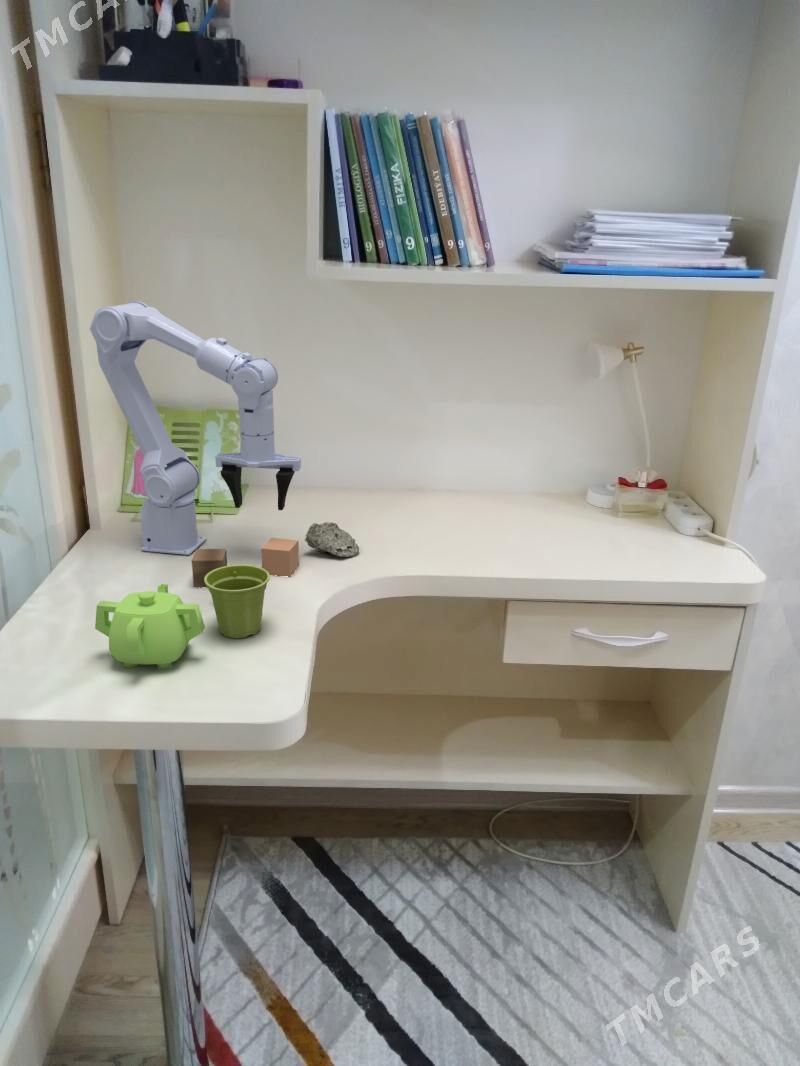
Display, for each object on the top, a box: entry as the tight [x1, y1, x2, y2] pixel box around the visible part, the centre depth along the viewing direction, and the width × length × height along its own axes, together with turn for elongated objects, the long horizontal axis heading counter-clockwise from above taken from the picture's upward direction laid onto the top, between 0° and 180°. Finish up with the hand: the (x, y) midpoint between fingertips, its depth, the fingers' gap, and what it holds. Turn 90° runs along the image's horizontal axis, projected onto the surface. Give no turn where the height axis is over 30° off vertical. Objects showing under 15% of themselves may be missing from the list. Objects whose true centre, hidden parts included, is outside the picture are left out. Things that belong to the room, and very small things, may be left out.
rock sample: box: [303, 520, 360, 558], centre depth 151 cm, size 10×8×9 cm
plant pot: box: [204, 564, 271, 639], centre depth 122 cm, size 9×9×9 cm
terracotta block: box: [260, 537, 300, 578], centre depth 143 cm, size 5×5×5 cm
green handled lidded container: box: [94, 583, 206, 670], centre depth 114 cm, size 12×12×10 cm
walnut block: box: [191, 548, 228, 589], centre depth 138 cm, size 5×5×5 cm
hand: (260, 507), depth 145 cm, fingers open, 7 cm apart
